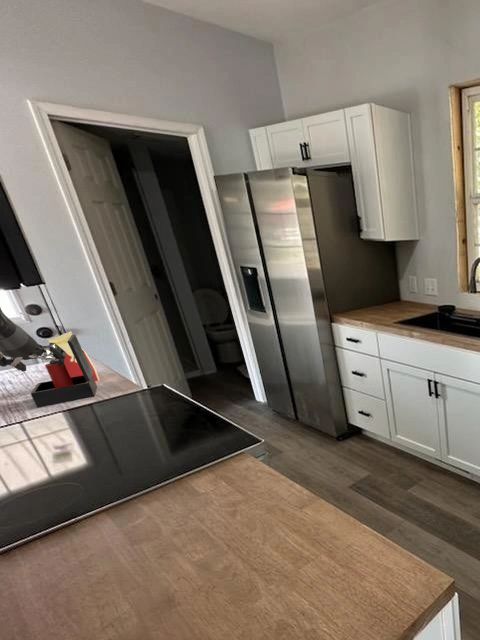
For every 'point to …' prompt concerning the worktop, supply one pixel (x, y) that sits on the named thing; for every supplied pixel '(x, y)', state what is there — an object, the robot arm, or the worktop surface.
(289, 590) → the worktop surface
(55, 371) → the red capped cylinder
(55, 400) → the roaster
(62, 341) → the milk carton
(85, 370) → the lid
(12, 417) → the worktop surface
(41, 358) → the robot arm
